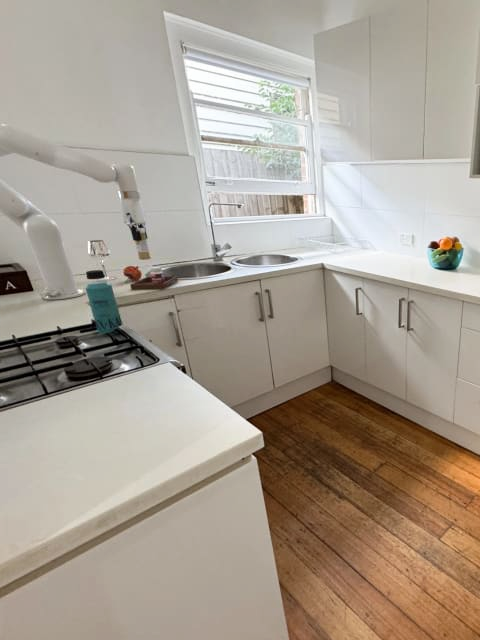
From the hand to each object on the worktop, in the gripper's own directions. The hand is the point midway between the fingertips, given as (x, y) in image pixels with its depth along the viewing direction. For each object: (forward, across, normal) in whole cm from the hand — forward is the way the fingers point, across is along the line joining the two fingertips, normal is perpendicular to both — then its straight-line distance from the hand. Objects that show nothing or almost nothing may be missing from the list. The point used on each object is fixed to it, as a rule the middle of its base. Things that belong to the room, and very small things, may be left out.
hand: (140, 239), depth 169 cm
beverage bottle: (+21, +68, +17) cm, 73 cm away
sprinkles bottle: (+9, 0, 0) cm, 9 cm away
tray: (+20, +3, +3) cm, 21 cm away
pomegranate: (+21, -8, -11) cm, 25 cm away
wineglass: (+21, -13, -25) cm, 35 cm away
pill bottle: (+20, +6, +6) cm, 22 cm away
